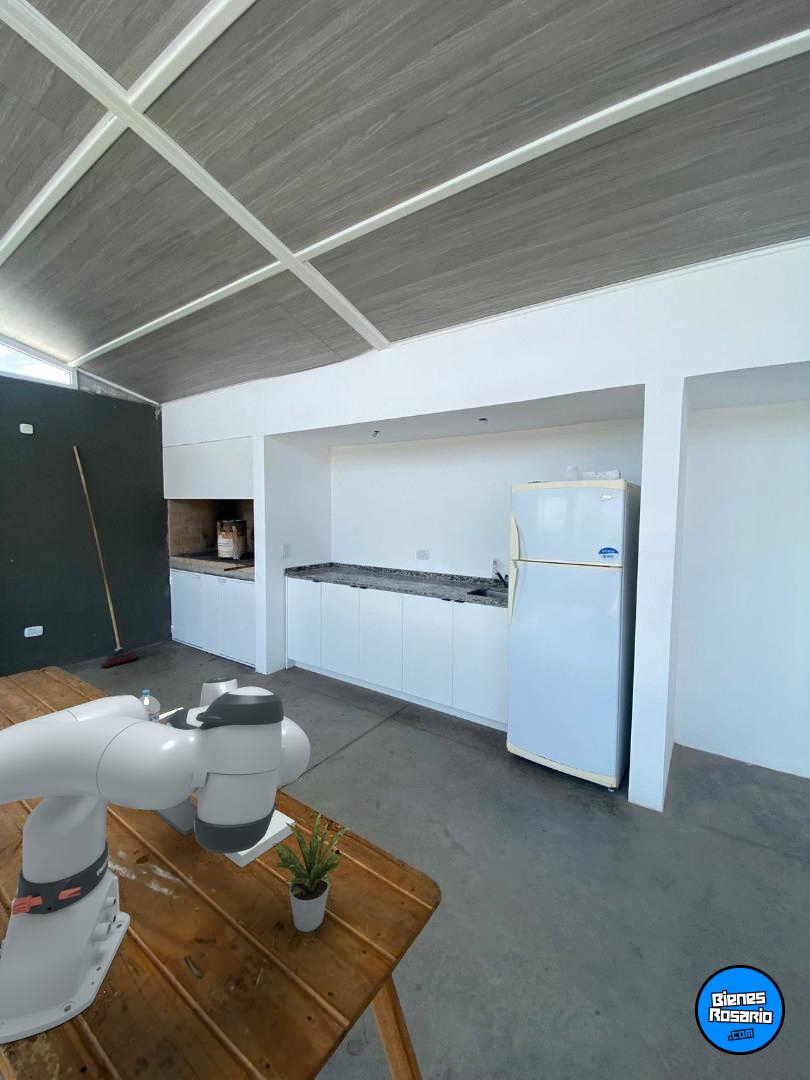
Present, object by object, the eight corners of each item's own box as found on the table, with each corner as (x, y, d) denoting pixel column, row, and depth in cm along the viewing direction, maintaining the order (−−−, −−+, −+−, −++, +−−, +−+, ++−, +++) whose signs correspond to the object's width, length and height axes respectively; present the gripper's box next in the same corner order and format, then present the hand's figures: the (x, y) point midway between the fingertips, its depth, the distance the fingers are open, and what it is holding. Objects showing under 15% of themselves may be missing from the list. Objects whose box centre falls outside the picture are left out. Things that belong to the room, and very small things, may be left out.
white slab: (294, 831, 104) (294, 820, 104) (241, 867, 93) (241, 856, 92) (246, 802, 114) (246, 792, 114) (193, 831, 103) (194, 821, 103)
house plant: (334, 873, 92) (336, 794, 91) (366, 924, 80) (368, 834, 80) (264, 902, 84) (266, 817, 84) (287, 964, 73) (290, 865, 72)
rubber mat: (252, 798, 116) (253, 794, 116) (184, 836, 101) (184, 831, 101) (218, 777, 125) (218, 774, 125) (150, 809, 110) (150, 805, 110)
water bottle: (154, 772, 127) (156, 684, 126) (162, 782, 122) (163, 691, 121) (126, 781, 122) (128, 690, 121) (133, 792, 117) (135, 697, 116)
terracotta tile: (233, 805, 111) (233, 796, 111) (210, 817, 107) (210, 808, 107) (212, 791, 117) (212, 783, 117) (190, 802, 112) (190, 794, 112)
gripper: (256, 751, 106) (255, 809, 106) (207, 727, 118) (206, 779, 118) (232, 762, 101) (231, 823, 101) (183, 736, 112) (182, 790, 113)
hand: (217, 799), depth 110 cm, fingers closed
